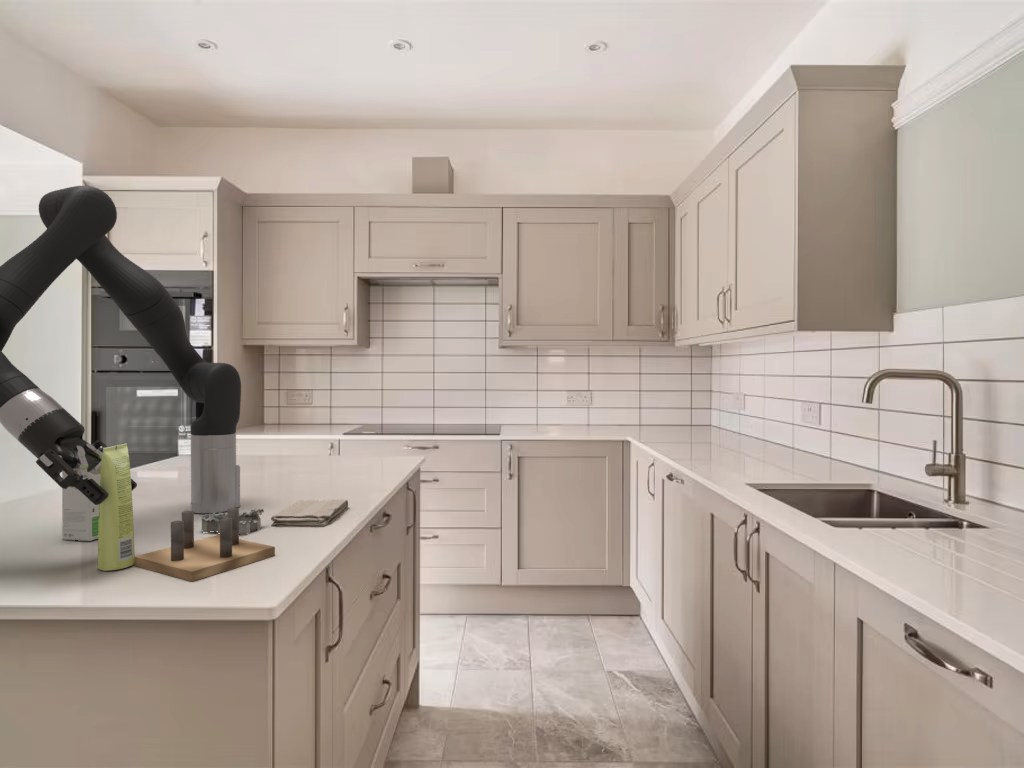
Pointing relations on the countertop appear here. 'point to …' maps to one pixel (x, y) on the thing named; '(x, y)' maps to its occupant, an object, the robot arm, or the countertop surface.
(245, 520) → the egg carton
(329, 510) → the washcloth
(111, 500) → the tube
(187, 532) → the cradle
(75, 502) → the skincare box
